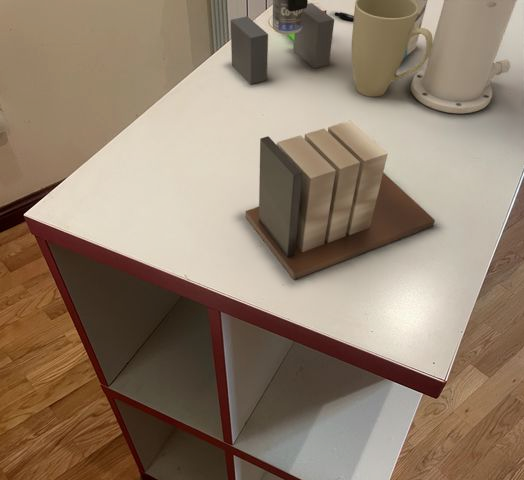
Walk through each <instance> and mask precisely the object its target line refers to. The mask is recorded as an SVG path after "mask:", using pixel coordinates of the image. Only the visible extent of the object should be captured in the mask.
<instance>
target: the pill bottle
mask: <svg viewBox="0 0 524 480" xmlns="http://www.w3.org/2000/svg"><path fill="white" fill-rule="evenodd" d="M287 6H288V0H272V29H273V30H274V32H275V33H278V34H281V35H287V34H294V33H297V32H299V31H300V30H301V29H302V20H303V9H301V10H297V11H292V12H290V11H289V10H288V9H287Z"/></svg>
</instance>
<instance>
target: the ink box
mask: <svg viewBox="0 0 524 480" xmlns="http://www.w3.org/2000/svg"><path fill="white" fill-rule="evenodd" d="M413 1H414V2H415V3H416V4H417V5H418V8H419V9H418V13H417V17H416V20H415V24H414V27H413V28H422V25H423V20H424V16H425V13H426V8H427V4H428V0H413ZM419 36H420V34H416V35H414V36H412V37H411V38H410V40H409V43H408V46H407V49H406V52H405V55H404V57H403V60H404V59H405V58H406V57H407V56H409V54H411V53H412V52H413V51H414V50H415V49H416V48H417V44H418V40H419Z"/></svg>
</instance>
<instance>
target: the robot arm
mask: <svg viewBox="0 0 524 480" xmlns="http://www.w3.org/2000/svg"><path fill="white" fill-rule="evenodd" d="M517 1H518V0H443V2H442V7H441V11H440V14H439V18H438V21H437V26H436V29H435V34H434V36H433V41H432V48H431V52H430V54H429V57H428V59H427V61H426V65H425V69H423V70H421V71H419V72H418V73H416V74H415V75H414V76H413V78H412V80H411V84H410V91H411V94H412V96H413V97H414V98H415V100H417V101H419V103H421V104H423V105H424V106H427V107H429V108H431V109H432V110H433V109H434V110H436V111H439V112H443V113H450V114H471V113H475V112H478V111H481V110H483V109H485V108H486V107H488V105H489V104H490V102H491V99H492V98H493V93H494V92H493V89H492V86H491V85H490V82H491V80H492V79H494V78H495V76H499V75H502V74H505V73H508V72H509V71H510V69H511V63H510V61H509V59H502V60H498V61H496V62H495V60H496V57H497V55H498V52H499V50H500V46H501V44H502V42H503V39H504V35H505V33H506V31H507V28H508V26H509V22H510V20H511V17H512V15H513V12H514V9H515V7H516V4H517ZM307 4H308V0H288V6H287V9H288V10H289V11H290V12H292V11H297V10H301V9H305V8H306V7H307Z"/></svg>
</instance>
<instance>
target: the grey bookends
mask: <svg viewBox="0 0 524 480" xmlns="http://www.w3.org/2000/svg"><path fill="white" fill-rule="evenodd" d="M334 26H335V18H333V17H332V16H330V15H329V14H328V13H327V12H326V13H325V12H323V11H322V10H321V9H319V8H318V7H317V6H315V5H314V4H312V3H309V4H307V7H306V8H305V9H303V20H302V29H301V30H300V31H299V32H297V33H295V34H294V40H293V49H292V50H293V53H295V54H296V55H298V56H299V57H300V58H301V59H302V60H303V61H304V62H306V63H307V64H308V66H310V67H311V68H312V69H318V68H321V67H326V66H329V65H330V60H331V51H332V44H333V43H332V42H333V35H334ZM230 45H231V47H230V48H231V50H230V51H231V66H232V67H233V68H234V69H235V70H236V71H237V72H238V73H239V74H240V75H241V76H242V77H243V79H245V81H247V82H248V83H249V84H250V85H255V84H258V83H262V82H266V81H268V56H269V54H268V52H269V33H268V32H267V31H266V30H264V29H263V28H261V26H259V25H258V24H257V23H256V22H255V21H254V20H253V19H251V18H250V17H249V16H243V17H236V18H233V19H230Z"/></svg>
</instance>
